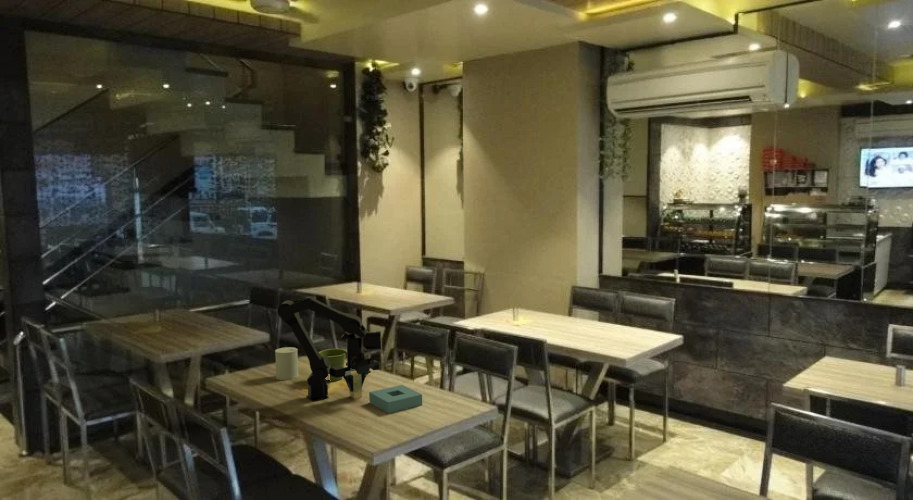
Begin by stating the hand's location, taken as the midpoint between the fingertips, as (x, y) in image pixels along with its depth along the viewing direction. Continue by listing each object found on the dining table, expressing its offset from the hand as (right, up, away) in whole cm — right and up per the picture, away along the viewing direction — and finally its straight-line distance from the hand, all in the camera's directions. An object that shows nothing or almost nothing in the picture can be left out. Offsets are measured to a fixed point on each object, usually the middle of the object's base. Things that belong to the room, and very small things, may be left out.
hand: (355, 390), depth 245 cm
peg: (0, -3, 0) cm, 2 cm away
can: (-33, 0, +27) cm, 43 cm away
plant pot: (-13, -1, +23) cm, 26 cm away
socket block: (+16, -3, -8) cm, 18 cm away
